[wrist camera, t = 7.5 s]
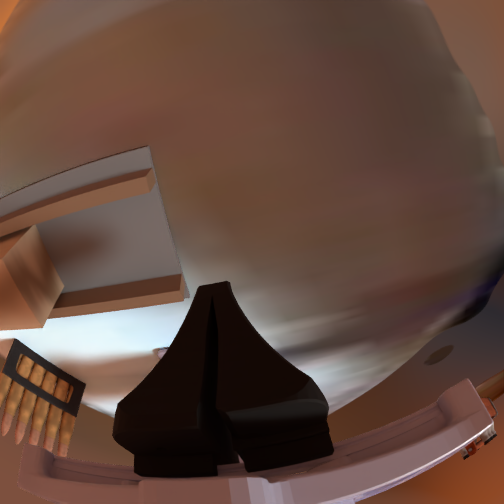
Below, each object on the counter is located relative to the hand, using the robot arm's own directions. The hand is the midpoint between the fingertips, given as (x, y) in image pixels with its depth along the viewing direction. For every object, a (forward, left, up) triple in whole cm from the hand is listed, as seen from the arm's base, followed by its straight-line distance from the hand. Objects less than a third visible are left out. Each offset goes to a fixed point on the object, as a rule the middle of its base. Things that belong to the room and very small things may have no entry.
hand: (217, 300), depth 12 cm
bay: (0, +12, -8) cm, 15 cm away
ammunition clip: (-14, +24, -9) cm, 29 cm away
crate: (0, +17, -8) cm, 19 cm away
